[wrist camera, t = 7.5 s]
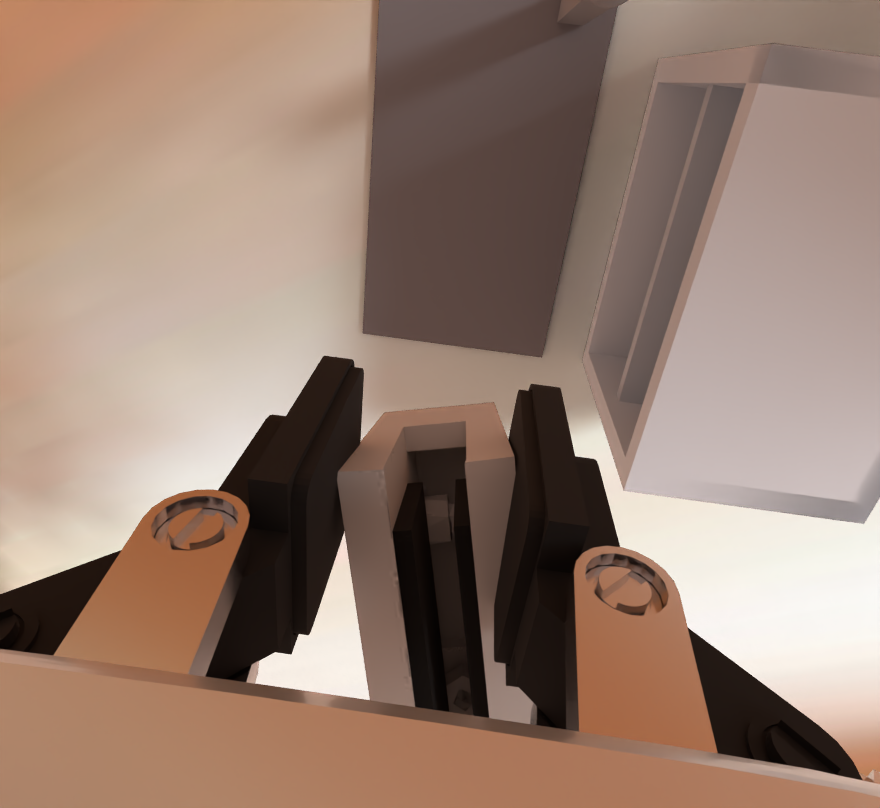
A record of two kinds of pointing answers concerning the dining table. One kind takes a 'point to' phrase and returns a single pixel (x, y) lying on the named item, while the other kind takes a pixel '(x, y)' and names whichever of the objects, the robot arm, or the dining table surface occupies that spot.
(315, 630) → the dining table surface
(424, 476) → the grey plank with wheel
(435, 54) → the grey l-shaped piece
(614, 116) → the dining table surface
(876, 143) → the cabinet
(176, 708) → the robot arm
